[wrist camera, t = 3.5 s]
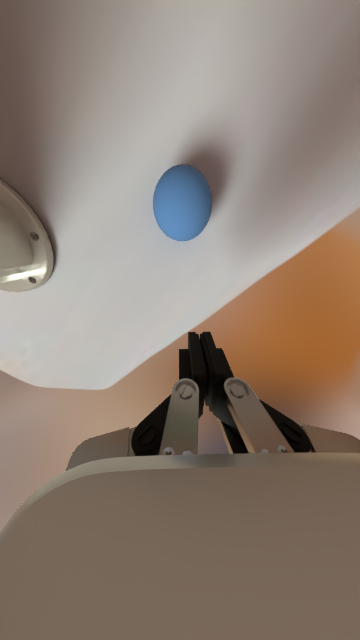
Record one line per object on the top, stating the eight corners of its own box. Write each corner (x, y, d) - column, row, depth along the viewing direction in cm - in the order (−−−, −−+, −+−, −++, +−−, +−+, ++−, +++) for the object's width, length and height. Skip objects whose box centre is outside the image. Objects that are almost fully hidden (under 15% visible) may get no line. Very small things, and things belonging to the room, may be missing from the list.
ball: (159, 242, 17) (152, 241, 12) (154, 180, 14) (143, 147, 9) (203, 241, 17) (215, 239, 12) (207, 180, 14) (223, 147, 10)
